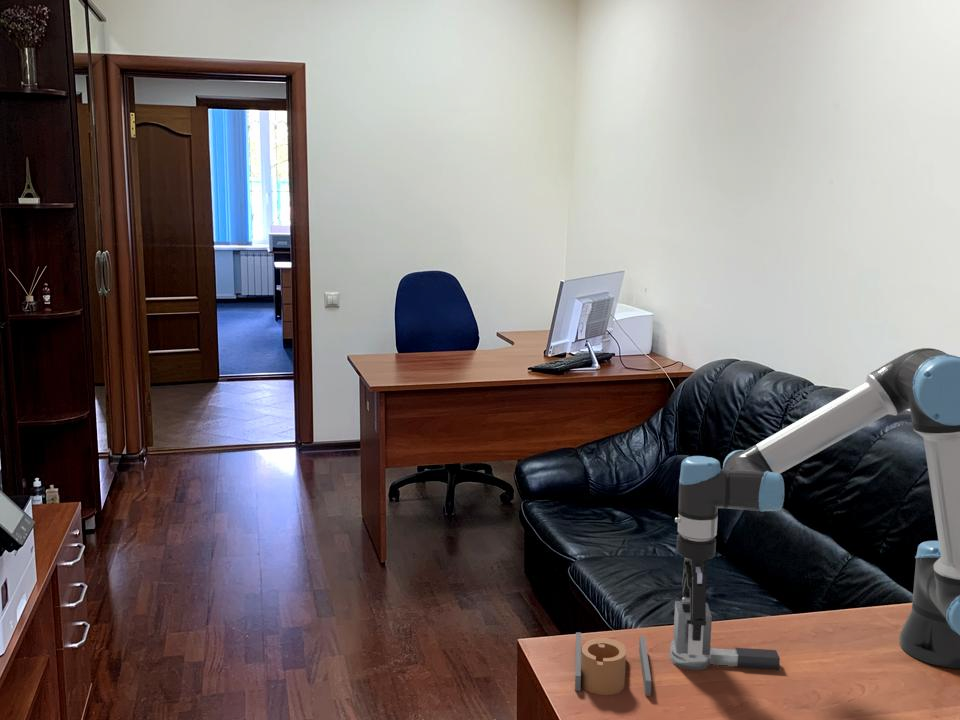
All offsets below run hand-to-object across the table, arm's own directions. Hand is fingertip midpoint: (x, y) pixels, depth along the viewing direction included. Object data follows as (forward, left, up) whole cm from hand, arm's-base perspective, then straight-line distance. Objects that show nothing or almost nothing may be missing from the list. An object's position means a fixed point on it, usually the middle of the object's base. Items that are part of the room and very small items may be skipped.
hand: (691, 640), depth 176 cm
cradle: (+16, +6, -4) cm, 18 cm away
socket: (0, 0, -1) cm, 1 cm away
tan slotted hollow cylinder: (+18, +7, -5) cm, 19 cm away
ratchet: (-6, 0, -4) cm, 8 cm away
